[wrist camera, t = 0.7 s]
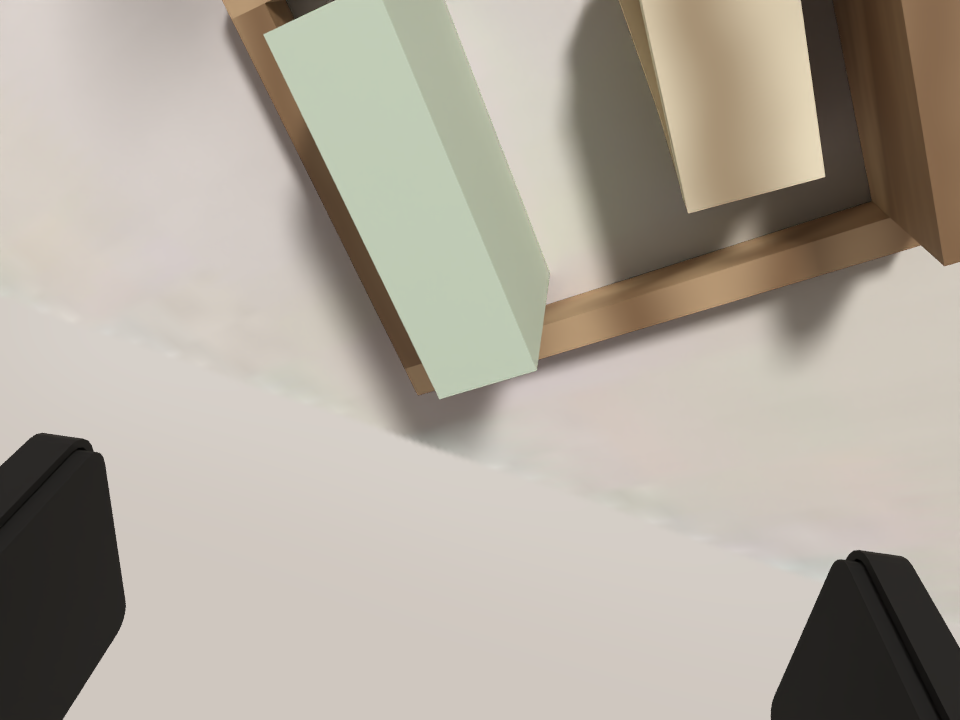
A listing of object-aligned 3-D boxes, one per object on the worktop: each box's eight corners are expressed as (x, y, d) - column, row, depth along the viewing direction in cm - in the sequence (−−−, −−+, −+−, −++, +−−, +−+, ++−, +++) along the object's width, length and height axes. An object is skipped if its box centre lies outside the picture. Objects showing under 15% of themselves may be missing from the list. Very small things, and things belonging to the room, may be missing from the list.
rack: (823, -321, 26) (906, -420, 19) (916, 222, 34) (1000, 292, 27) (235, -23, 33) (139, -17, 26) (426, 372, 41) (392, 460, 34)
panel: (434, -27, 32) (374, -19, 23) (550, 272, 38) (536, 370, 29) (350, 12, 33) (263, 34, 24) (474, 297, 39) (439, 399, 30)
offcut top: (771, -100, 26) (786, -104, 24) (809, 160, 29) (825, 177, 27) (628, -48, 27) (630, -48, 25) (682, 195, 31) (688, 213, 29)
